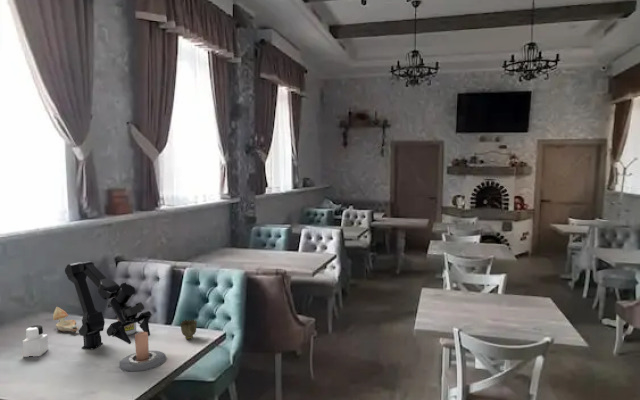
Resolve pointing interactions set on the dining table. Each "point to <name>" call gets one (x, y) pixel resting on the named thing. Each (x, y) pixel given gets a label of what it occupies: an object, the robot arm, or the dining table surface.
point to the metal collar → (132, 362)
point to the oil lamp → (64, 325)
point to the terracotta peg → (141, 346)
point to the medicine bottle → (35, 342)
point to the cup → (188, 328)
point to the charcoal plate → (134, 368)
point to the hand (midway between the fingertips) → (140, 339)
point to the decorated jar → (130, 328)
